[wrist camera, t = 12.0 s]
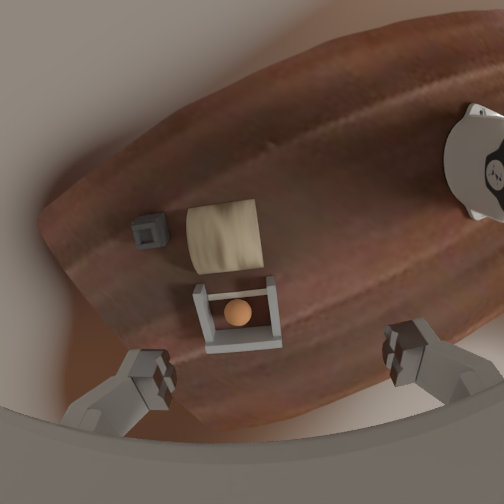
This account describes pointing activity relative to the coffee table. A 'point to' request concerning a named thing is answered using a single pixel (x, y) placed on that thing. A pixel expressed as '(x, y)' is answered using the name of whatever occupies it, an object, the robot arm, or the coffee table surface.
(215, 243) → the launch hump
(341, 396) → the coffee table surface
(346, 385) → the coffee table surface
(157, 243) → the cube with raised frame
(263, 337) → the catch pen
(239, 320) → the ball
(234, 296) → the line
